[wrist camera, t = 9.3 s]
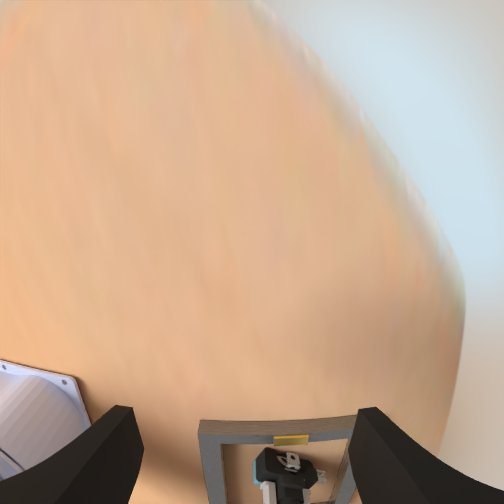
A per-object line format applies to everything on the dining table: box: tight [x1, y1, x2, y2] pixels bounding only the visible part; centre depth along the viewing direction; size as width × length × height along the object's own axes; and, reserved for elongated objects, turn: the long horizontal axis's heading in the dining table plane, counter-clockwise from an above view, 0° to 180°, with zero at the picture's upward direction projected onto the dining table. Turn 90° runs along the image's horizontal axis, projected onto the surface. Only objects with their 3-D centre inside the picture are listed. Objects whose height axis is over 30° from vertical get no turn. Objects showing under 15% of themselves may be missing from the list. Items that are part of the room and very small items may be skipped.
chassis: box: [198, 415, 357, 504], centre depth 22 cm, size 13×14×2 cm
